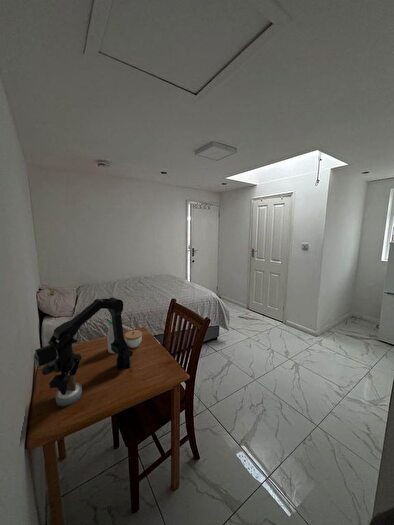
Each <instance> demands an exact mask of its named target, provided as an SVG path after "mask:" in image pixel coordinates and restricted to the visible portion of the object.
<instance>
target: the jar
mask: <svg viewBox="0 0 394 525" xmlns="http://www.w3.org/2000/svg"><path fill="white" fill-rule="evenodd" d="M75 383H76V390H75V391H71V390H67V391H66V394H65V395H62V394H61V392H60V391H59V389H58V390H57V391H56V393H55V403H56V406H59V407H67V406H70V405H73V404H74V403H76V402H77V401H79V400H80V399H81V397H82V395H83V389H82V388H83V386H82V384H80V382H79V383H78V382H75Z"/></svg>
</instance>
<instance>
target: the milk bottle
mask: <svg viewBox="0 0 394 525" xmlns="http://www.w3.org/2000/svg"><path fill="white" fill-rule="evenodd" d="M108 323H109V327H108V330H107V334H106V335H107V351H108V353H110V354H115V353H114V352H113V351H112V350H111V343H113V342H114V333H113V325H112V318H111V319H109V322H108Z"/></svg>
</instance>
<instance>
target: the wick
mask: <svg viewBox="0 0 394 525" xmlns="http://www.w3.org/2000/svg"><path fill="white" fill-rule="evenodd" d="M68 375H69V380H70V381H69V385H68V388H67V390H71V391H75V390H76V383H77V382H76V374H75V375H70V374H68Z"/></svg>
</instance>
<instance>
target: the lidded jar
mask: <svg viewBox="0 0 394 525" xmlns="http://www.w3.org/2000/svg"><path fill="white" fill-rule="evenodd" d="M124 339H125V341H126V343H127V345H128V348H133V349H135V348H137V347H139V346H140V344H141V343H142V340H143V333H142V331H141V330H134V329H133V330H129V331H127V332H125V333H124Z"/></svg>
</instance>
